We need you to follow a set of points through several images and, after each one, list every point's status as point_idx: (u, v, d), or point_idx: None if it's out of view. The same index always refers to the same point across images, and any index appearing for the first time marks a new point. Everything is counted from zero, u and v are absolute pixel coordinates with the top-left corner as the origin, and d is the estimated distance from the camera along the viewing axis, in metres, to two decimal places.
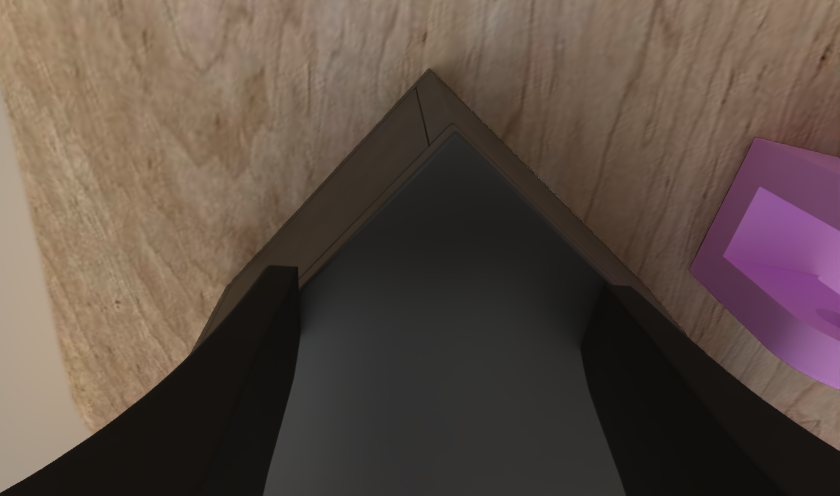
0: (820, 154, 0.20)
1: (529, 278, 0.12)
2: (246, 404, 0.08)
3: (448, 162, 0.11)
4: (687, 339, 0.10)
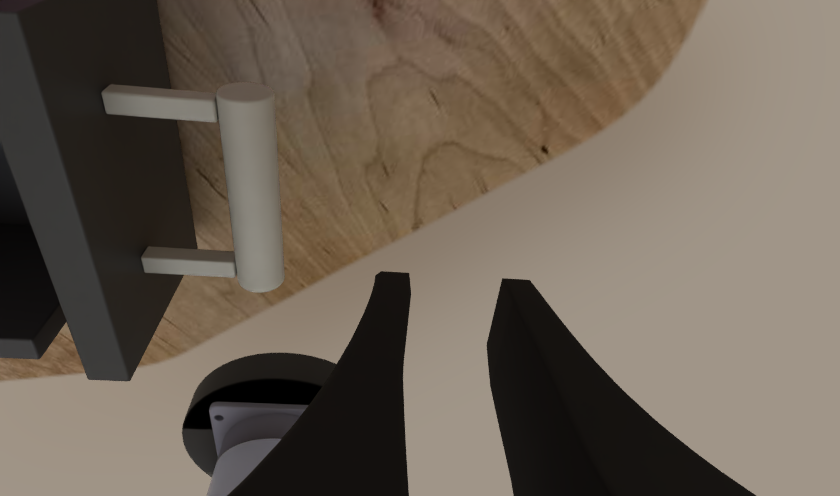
0: None
1: None
2: None
3: None
4: (568, 333, 0.10)
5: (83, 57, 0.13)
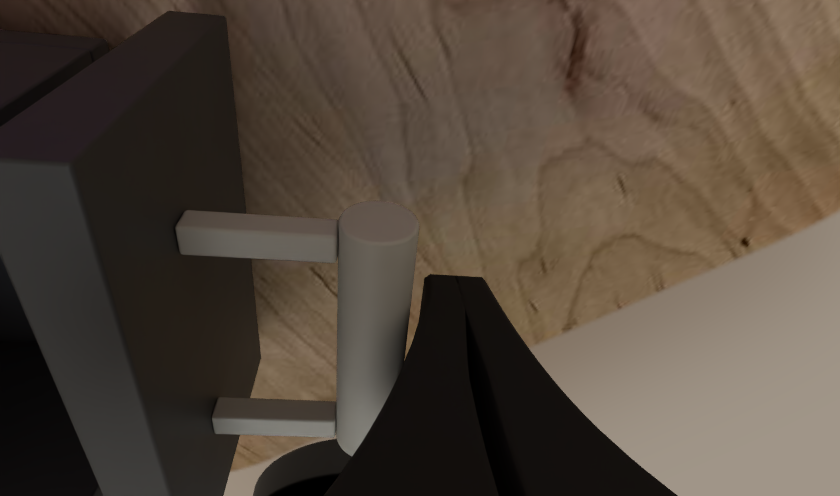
0: None
1: None
2: None
3: None
4: (511, 330, 0.10)
5: (154, 189, 0.08)
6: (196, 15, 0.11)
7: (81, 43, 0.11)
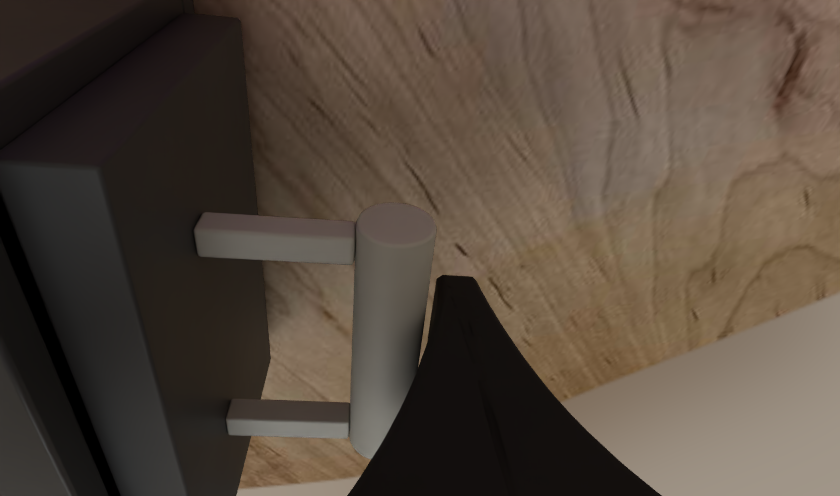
0: None
1: None
2: None
3: None
4: (500, 330, 0.10)
5: (175, 192, 0.08)
6: (211, 17, 0.11)
7: None
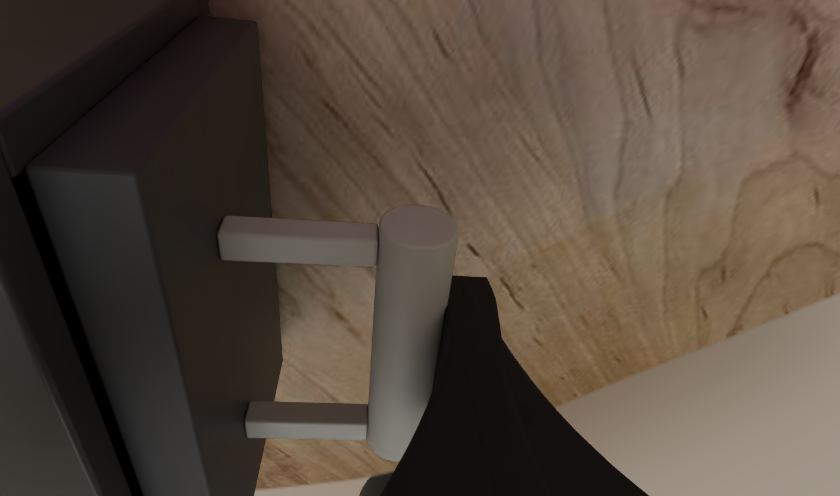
0: None
1: None
2: None
3: None
4: (491, 329, 0.10)
5: (201, 196, 0.08)
6: (228, 20, 0.11)
7: None
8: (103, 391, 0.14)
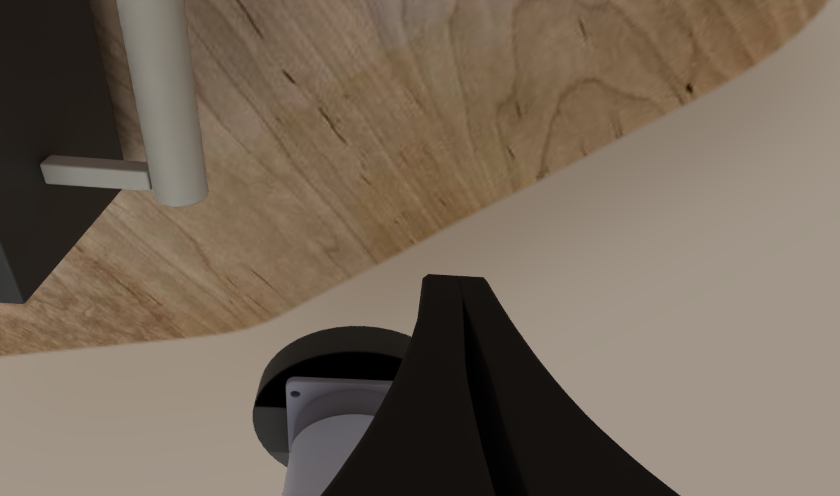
0: None
1: None
2: None
3: None
4: (513, 330, 0.10)
5: None
6: None
7: None
8: None
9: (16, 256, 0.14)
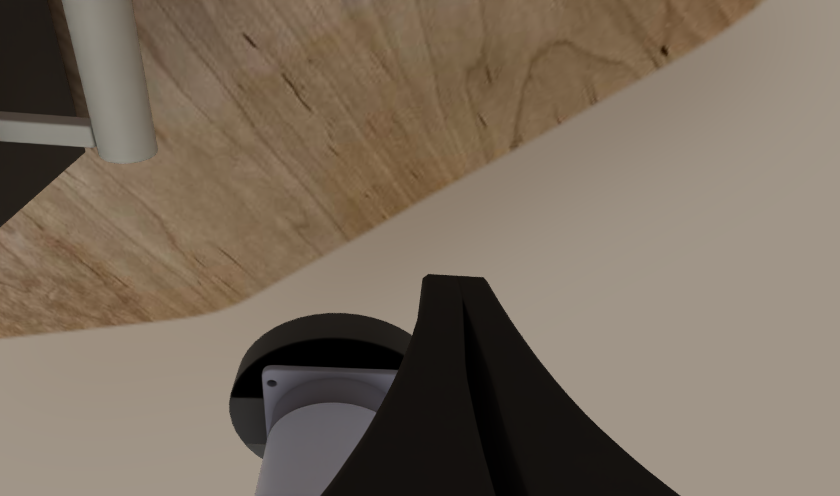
0: None
1: None
2: None
3: None
4: (513, 330, 0.10)
5: None
6: None
7: None
8: None
9: None
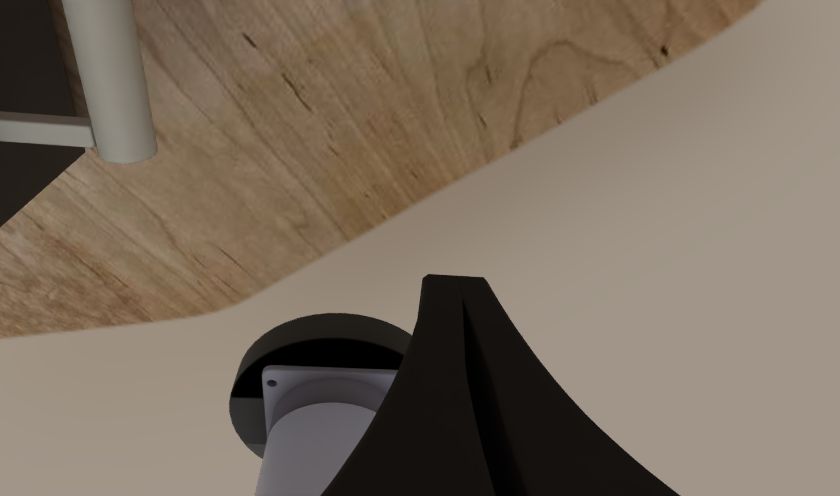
0: None
1: None
2: None
3: None
4: (513, 330, 0.10)
5: None
6: None
7: None
8: None
9: None
